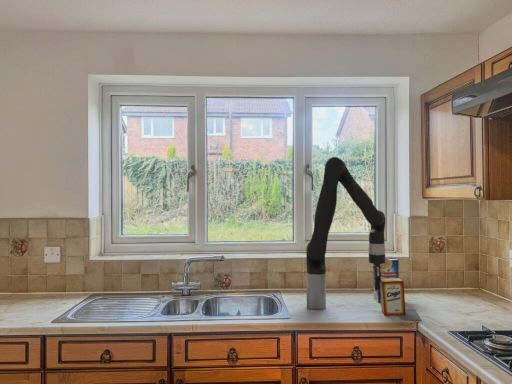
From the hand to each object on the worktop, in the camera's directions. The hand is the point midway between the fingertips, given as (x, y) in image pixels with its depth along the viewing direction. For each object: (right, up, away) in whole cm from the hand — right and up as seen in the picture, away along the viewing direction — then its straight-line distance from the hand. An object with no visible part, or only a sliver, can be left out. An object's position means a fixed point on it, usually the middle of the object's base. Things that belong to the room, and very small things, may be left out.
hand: (377, 289), depth 193 cm
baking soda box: (+7, -11, -2) cm, 13 cm away
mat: (+14, -11, -3) cm, 18 cm away
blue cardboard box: (+11, -11, +21) cm, 26 cm away
